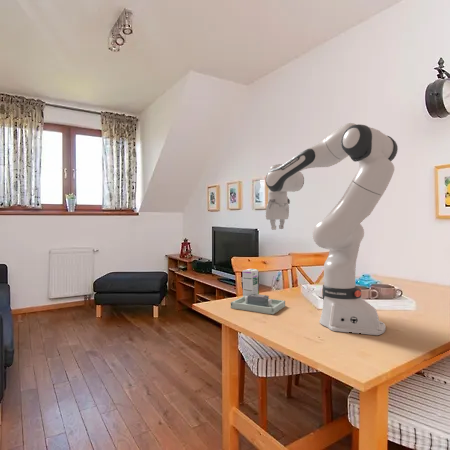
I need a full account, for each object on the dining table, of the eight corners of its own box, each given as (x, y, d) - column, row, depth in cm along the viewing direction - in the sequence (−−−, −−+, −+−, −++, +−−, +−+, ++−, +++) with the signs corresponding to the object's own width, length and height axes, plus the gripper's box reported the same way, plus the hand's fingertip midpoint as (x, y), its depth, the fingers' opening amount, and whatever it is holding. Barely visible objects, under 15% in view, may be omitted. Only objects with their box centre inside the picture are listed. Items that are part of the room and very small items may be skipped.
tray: (285, 306, 146) (285, 297, 146) (273, 314, 134) (273, 304, 134) (245, 300, 157) (245, 292, 157) (230, 308, 145) (230, 299, 145)
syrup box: (252, 301, 156) (252, 271, 155) (242, 299, 159) (242, 269, 159) (259, 298, 160) (258, 269, 160) (248, 297, 164) (248, 268, 163)
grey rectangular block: (268, 304, 146) (268, 294, 146) (264, 307, 141) (264, 297, 141) (251, 302, 149) (251, 293, 149) (247, 305, 145) (247, 295, 145)
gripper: (275, 198, 144) (275, 230, 144) (291, 200, 161) (291, 228, 162) (262, 199, 147) (262, 230, 147) (279, 200, 165) (279, 228, 165)
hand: (277, 229), depth 155 cm, fingers open, 8 cm apart
